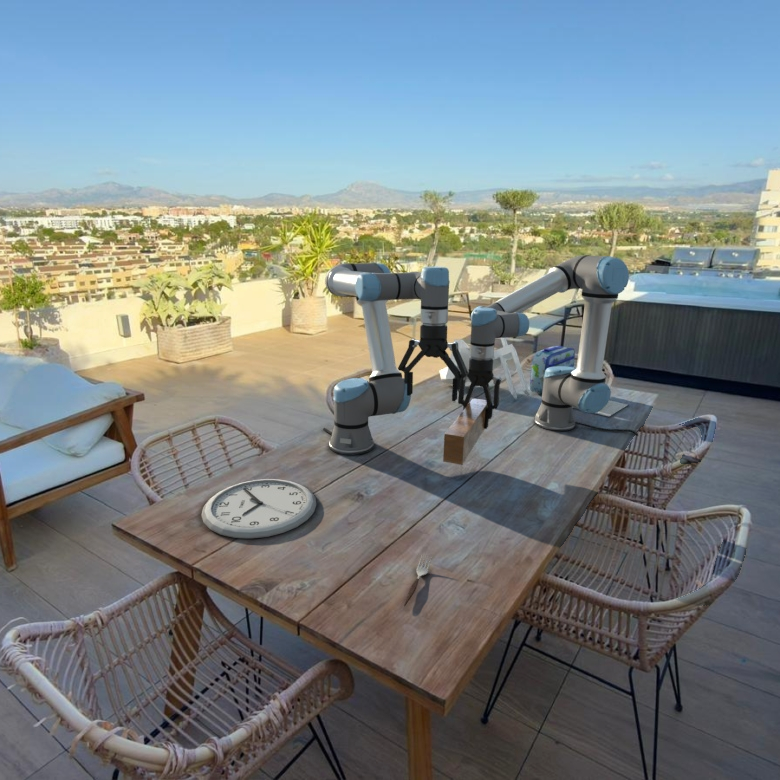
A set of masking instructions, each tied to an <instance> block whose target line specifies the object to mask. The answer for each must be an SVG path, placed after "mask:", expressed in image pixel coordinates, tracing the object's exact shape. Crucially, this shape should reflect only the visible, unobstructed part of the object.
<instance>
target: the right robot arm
mask: <svg viewBox="0 0 780 780" xmlns="http://www.w3.org/2000/svg"><path fill="white" fill-rule="evenodd" d="M629 279H630V271H629V268H628V266H627V264H626V263H625V261H623V260H622V259H620V258H618V257H614V256H609V255H590V254H582V255H578V256H574V257H572V258H569V259H567V260H565V261H563V262H560V263H558V264H557V265H555V266H553V267H551V268H550V269H549V270H548V273H546V274H544V275H542V276H541V277H539V278H537V279H534V281H531V282H530V283H528V284H526V285H524V286H522V287H521V288H519V289H517V290H514V291H513V292H512V293H509V294H508V295H506V296H504V297H502V298H500V299H498V300H496V301H495V302H493V303H491V304H489V305H487V306H485V305H479V306H477V307H474V309H473V310H472V312H471V314H470V325H471V326H470V344H469V347H470V356H471V357H470V358H469V370H468V375H467V376H466V377H462V379H461V388H460V389H459V390H458V396H457V403H458V404H459V405H462V407H463V408H462V411H463V410H464V409H465V408H466V406H467V405H468V404H469V403H470V401H471V398H472V396H473V393H474V390H475V388H476V387H480V388H482V389H483V393H484V397H485V400H486V402H487V406H488V407H487V409H486V411H485V424H484V430H487V429H488V427H489V421H490V420H492V417H493V412H494V411H493V410H496V409H497V410H498V408H499V406H500V385H501V382H502V380H503V379H502V378H501V377H498V376H495V375H494V370H493V359H492V358H493V357H494V350H495V344H496V339H501V338H506V339H507V338H517V337H523V336H526V335H527V333H528V332H529V330H530V319H529V317H528V316H527V314H526V313H524V312H525V311H527V310H528V309H530V308H532V307H534V306H536V305H538V304H539V303H542V302H543V301H545V300H546V299H549V298H550V297H553V296H554V295H556V294H557V293H561V294H562V293H566V292H567V291H570V290H576V289H579V290H581V298H582V299H583V300H584V309H583V317H582V322H581V323H582V324H581V329H580V330H581V332H580V337H579V346H578V352H577V353H578V354H577V361H576V367H575V366H574V367H567V366H556V367H549V368H547V369H546V370H545V374H544V380H543V391H542V393H541V402H540V405H539V407H538V410H537V411H536V413H535V417H534V424H535V425H536V426H537V427H539V428H542V429H544V430H549V431H556V432H567V431H572V430H574V429H575V428H576V425H577V426H578V425H579V426H581V427H586V428H588V429H589V428H590V429H593V430H598V431H603V432H619V433H620V432H622V433H631V434H633V435H634V436H637V437H639V433H637V432H636V431H635V430H633V429H628V428H625V429H622V428H606V427H605V428H603V427H598V426H594V425H591V424H587V423H583V422H579V421H576V418H575V417H576V416H575V413H574V409H576V408H577V409H576V410H579V411H580V412H583V413H587V414H596V412H599V411H600V410H602V409H603V407H605V406H606V404H607V403H608V401H609V400H610V399H611V395H612V391H611V388H610V386H609V385H608V384H607V383H606V379H607V378H606V377H607V375H606V374H605V372H604V371H603V367H604V359H605V352H606V346H607V339H608V333H609V327H610V321H611V314H612V313H611V312H612V306H613V303H614V302H615V301H617V300H618V299H619V294H621V293H622V292H624V291H625V288H627V286H628V283H629ZM467 377H468V378H469V380H470V381H471V382H470V385H469V388H468V391H467V393H466V396H465V389H466V388H465V387H466V383H465V380H466V379H467ZM491 381H493V384H494V387H493V389H494V390H493V399H492V394H491V390H490V389H491V388H490V382H491ZM464 398H465V399H464Z"/></svg>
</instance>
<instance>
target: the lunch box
mask: <svg viewBox="0 0 780 780" xmlns="http://www.w3.org/2000/svg"><path fill="white" fill-rule="evenodd" d="M575 352H576V351H575V349H574V348H573V347H567V346H561V345H553V346H549V347H547V348H543V349H541V350H538V351H537V352H535V353H534V355H533V357H532V359H531V366H530V379H529V391H531V392H532V393H537V394H542V391H543V380H544V374H545V370H546V369H547V368H549V367H556V366H567V367H574V368H575V357H576V354H575Z"/></svg>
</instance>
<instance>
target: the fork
mask: <svg viewBox="0 0 780 780" xmlns="http://www.w3.org/2000/svg"><path fill="white" fill-rule="evenodd" d="M423 555H424V554H421V557H420V560H419V563H418V565H417V567H416V574H417V577H416V578H415V580H414V581H413V582H412V584H411V586H410V587H409V590H408V593H407V596H406V599H405V601H404V604H403V606H404V607H406V605H407V604H408V603H409V601H410V599H411V598H412V596H413V595H414V594H415V593H416V590H417V588H418V583H419V580H420V578H421V577H423V576H426V575H427V574H428V573H429V570H430V566H431V563H432V561H431V560H432V558H430V560H429V557H427V558H426V556H424V558H423ZM422 559H423V561H422ZM425 560H426V561H425ZM428 560H429V562H428Z"/></svg>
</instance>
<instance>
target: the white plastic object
mask: <svg viewBox="0 0 780 780" xmlns="http://www.w3.org/2000/svg"><path fill="white" fill-rule="evenodd" d="M455 342H457V343H458V350H459V352H460V355H461V357H462V359H463V361H464V364H465V366H466V368H467V371H468V370H469V358H470V357H471V356H470V345H468V343H466V342H465V340H464V339H463V338H460V339H458V338H454V340H453V343H455ZM500 342H501V345H502V347H500V348H498V349H496V350H495V349H494V357H493V358H492V359H493V371H495V370H496V369H497V368H499V367H500V366H502V370H503V373H504V376H505V380H506V383H507V386H508V390H509V393H510V394H511V395H512V397H513V398H514V399H515V400H517V392H516V391H517V390H516V388H515V385H514V381H513V378H512V375H511V371H510V369H509V365H508V361H510V360H513V363H514V366H515V369H516V372H517V376H518V380H519V382H520V385H521V389H522V391H523V393H524V395H525V396H526V397H528V396H531V395H530V389H529V388H528V387H529V386H528V384H527V381H526V378H525V375H524V371H523V369H522V368H523V367H522V366H521V362H520V359H519V355H518V352H517V349H516V347H515V346H514V345H513V343H511V344H508V341H507V337H506V338H500ZM450 352H451V353H450V356H449V357H450V359H451V360H452V361H453V363H454V364H455V365H456V367H457V368H458V369H459V367H458V365H457V363H456V360H455V358H454V356H453V353H452V351H450ZM459 371H460V370H459ZM438 372H439V376H440V381H442V383H443V384H444V385H445V386H449V385H453V378H454V377H455V376H454V374H453V373H452V372H451V370H450V369H449V368H448V366H446V367H444V368H442V369H440V370H439V371H438ZM467 383H468V384H469V383H471V381H470V380H469V378H468V377H467V379H466V380H465V384H467Z"/></svg>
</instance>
